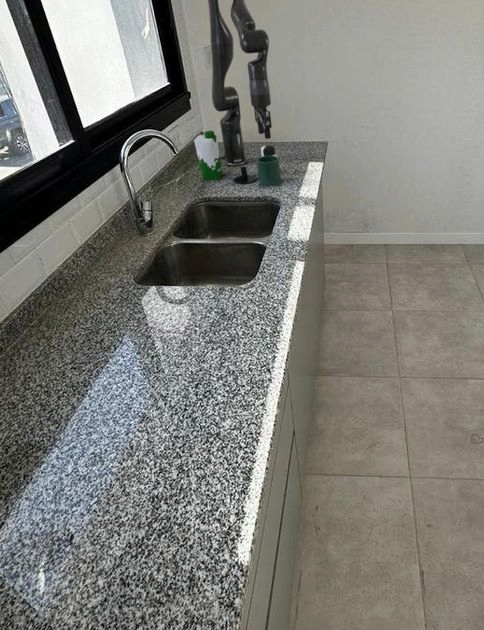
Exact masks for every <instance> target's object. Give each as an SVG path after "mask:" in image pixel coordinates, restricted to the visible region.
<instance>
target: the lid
mask: <svg viewBox="0 0 484 630" xmlns="http://www.w3.org/2000/svg"><path fill="white" fill-rule="evenodd" d="M257 180H258V179H257V176H256V175H252V174H248V170H247V166H240V175H238V176H236V177H234V178H233V183H235V184H237V185H248V184H253V183H255V182H256V181H257Z"/></svg>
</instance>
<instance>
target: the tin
mask: <svg viewBox="0 0 484 630" xmlns="http://www.w3.org/2000/svg"><path fill="white" fill-rule="evenodd" d="M276 156H277V155H275V156H263V157H262V156H260V157H258V158H256V166H257V175H258V183H259V185H260V186H263V187H275V186H279V185H280V184H281V183H282V177H281V167H280V158H279V156H278V157H276Z"/></svg>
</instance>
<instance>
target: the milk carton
mask: <svg viewBox="0 0 484 630" xmlns="http://www.w3.org/2000/svg"><path fill="white" fill-rule="evenodd" d="M193 142H194V145H195V152H196V155H197V159H198V165H199V169H200V173H201V177H202V181H220V180H221V178H222V177H223V175H224V174H223V166H222V161H221V159H220V157H221V155H220V151H219V144H218V135H217V134H215V131H214V130H206V131H204V134H199V135H198V136H196V138H194V139H193Z"/></svg>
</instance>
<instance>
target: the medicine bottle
mask: <svg viewBox="0 0 484 630" xmlns="http://www.w3.org/2000/svg"><path fill="white" fill-rule="evenodd" d="M260 153H261V157H263V156H276V157H278V158H279V156H278V155H276V149H275V146H273V145H263V146H262V147H260Z"/></svg>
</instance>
